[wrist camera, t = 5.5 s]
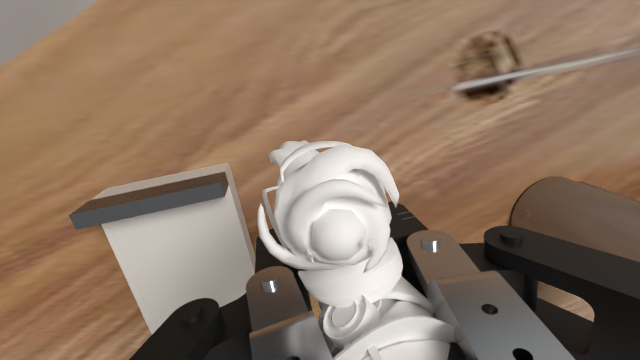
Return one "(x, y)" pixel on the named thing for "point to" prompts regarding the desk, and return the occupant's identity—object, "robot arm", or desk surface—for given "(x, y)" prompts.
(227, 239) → the shelf board
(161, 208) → the rail
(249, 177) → the desk surface
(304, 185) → the white toy figure
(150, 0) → the desk surface
